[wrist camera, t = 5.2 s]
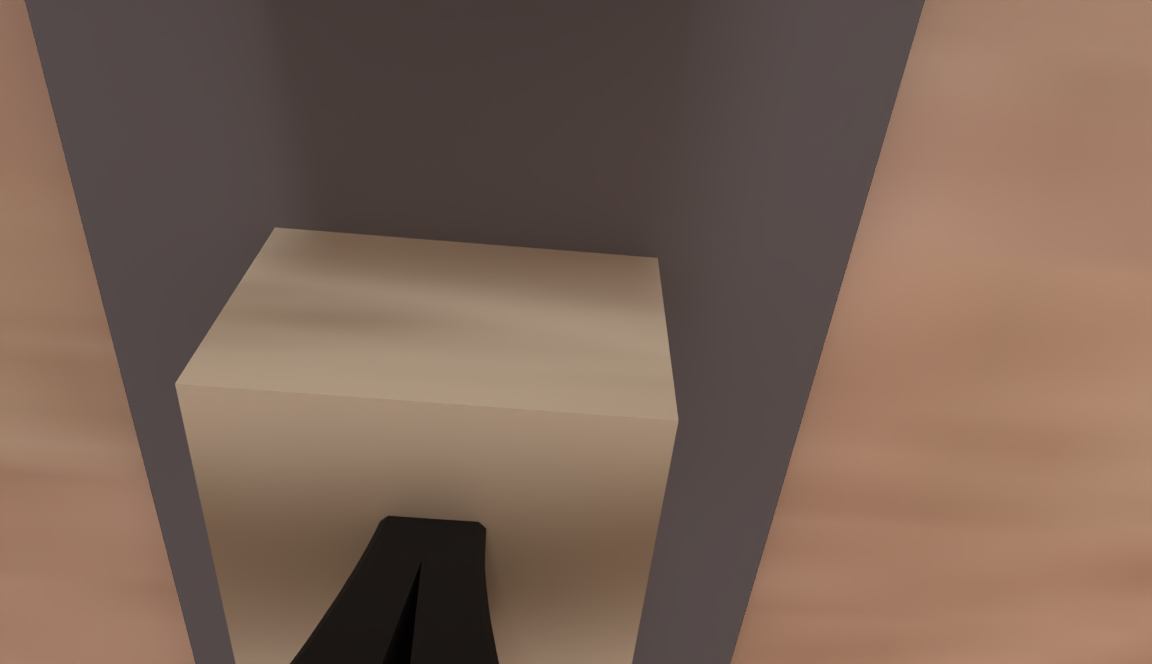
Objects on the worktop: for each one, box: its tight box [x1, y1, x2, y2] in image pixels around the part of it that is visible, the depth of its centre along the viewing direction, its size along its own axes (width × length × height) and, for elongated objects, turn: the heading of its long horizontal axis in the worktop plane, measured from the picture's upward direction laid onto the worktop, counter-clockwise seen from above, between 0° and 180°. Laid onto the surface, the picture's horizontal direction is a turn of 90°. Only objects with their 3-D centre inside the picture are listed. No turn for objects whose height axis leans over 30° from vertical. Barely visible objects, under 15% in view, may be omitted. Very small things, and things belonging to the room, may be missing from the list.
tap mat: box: [25, 0, 925, 664], centre depth 16 cm, size 30×12×1 cm, turn 175°
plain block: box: [175, 227, 679, 664], centre depth 14 cm, size 6×6×4 cm
